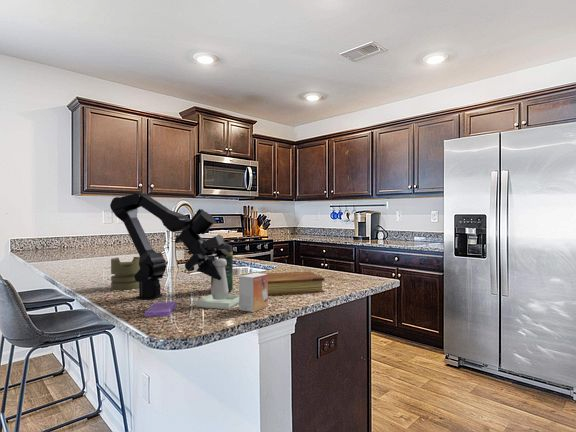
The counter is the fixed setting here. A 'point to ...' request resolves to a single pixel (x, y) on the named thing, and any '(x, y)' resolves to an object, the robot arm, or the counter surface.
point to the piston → (124, 274)
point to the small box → (253, 292)
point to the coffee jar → (229, 265)
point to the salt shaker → (220, 281)
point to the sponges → (161, 309)
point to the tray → (218, 302)
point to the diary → (294, 283)
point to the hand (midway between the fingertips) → (223, 278)
